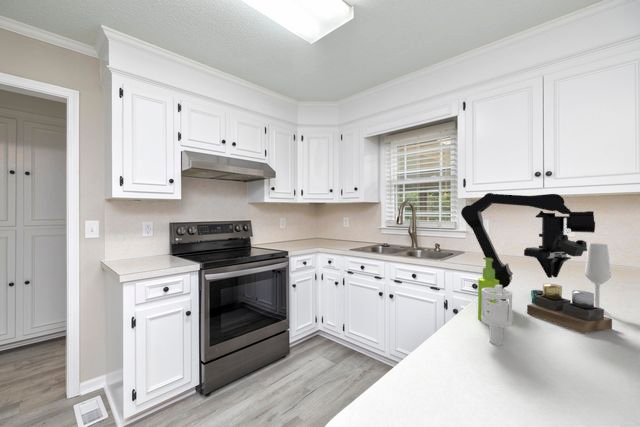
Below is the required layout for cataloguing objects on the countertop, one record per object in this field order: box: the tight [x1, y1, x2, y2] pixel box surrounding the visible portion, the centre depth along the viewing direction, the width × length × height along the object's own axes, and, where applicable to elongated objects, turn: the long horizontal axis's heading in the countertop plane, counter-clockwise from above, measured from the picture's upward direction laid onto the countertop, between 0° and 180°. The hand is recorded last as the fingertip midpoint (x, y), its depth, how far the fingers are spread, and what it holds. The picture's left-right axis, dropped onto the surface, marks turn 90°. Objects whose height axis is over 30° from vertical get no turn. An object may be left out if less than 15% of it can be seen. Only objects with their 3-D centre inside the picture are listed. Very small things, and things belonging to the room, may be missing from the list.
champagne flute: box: [584, 242, 612, 316], centre depth 102 cm, size 7×7×24 cm
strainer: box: [480, 285, 513, 346], centre depth 78 cm, size 7×7×15 cm
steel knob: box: [571, 289, 595, 308], centre depth 89 cm, size 5×5×4 cm
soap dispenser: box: [477, 257, 499, 322], centre depth 95 cm, size 6×7×20 cm
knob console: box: [526, 295, 613, 334], centre depth 94 cm, size 12×17×6 cm
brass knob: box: [542, 283, 563, 299], centre depth 98 cm, size 5×5×4 cm
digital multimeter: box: [530, 289, 543, 304], centre depth 115 cm, size 7×15×3 cm, turn 145°
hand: (552, 277), depth 98 cm, fingers open, 2 cm apart
